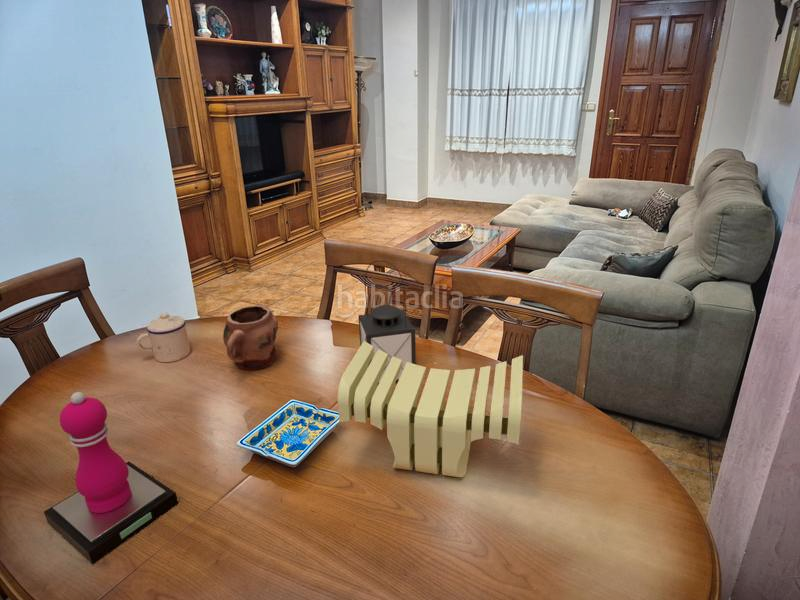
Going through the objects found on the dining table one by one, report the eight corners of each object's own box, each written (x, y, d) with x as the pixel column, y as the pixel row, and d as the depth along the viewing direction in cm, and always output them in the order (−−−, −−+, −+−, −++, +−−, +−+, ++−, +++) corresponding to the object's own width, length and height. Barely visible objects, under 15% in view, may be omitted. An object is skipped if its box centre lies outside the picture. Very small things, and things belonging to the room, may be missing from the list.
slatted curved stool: (343, 469, 92) (336, 384, 85) (368, 417, 106) (364, 340, 99) (514, 494, 85) (521, 405, 78) (516, 435, 99) (522, 355, 92)
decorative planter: (263, 388, 117) (255, 333, 112) (212, 385, 118) (202, 332, 113) (290, 346, 135) (284, 298, 130) (246, 345, 137) (238, 297, 131)
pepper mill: (125, 476, 87) (95, 374, 79) (141, 498, 82) (110, 392, 74) (78, 499, 82) (41, 393, 74) (91, 523, 77) (53, 413, 70)
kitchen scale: (92, 564, 74) (87, 549, 73) (47, 523, 82) (42, 508, 80) (178, 503, 85) (175, 489, 84) (131, 471, 92) (128, 458, 91)
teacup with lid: (189, 343, 138) (181, 304, 134) (193, 358, 131) (185, 316, 126) (140, 354, 133) (130, 313, 129) (142, 369, 126) (131, 327, 121)
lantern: (360, 363, 126) (353, 255, 115) (404, 357, 129) (402, 251, 118) (369, 387, 116) (362, 272, 105) (416, 380, 119) (414, 266, 108)
